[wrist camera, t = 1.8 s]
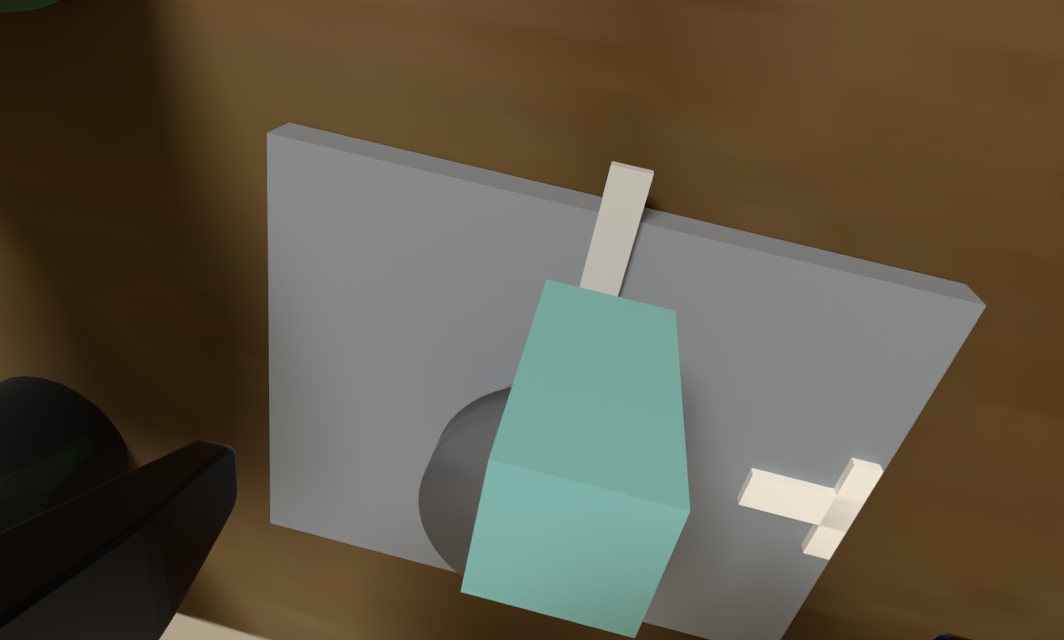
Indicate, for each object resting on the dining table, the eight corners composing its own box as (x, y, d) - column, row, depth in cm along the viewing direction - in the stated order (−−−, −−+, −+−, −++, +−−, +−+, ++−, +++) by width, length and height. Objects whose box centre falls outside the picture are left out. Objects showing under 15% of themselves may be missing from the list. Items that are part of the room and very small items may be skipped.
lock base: (992, 237, 16) (1058, 291, 14) (765, 625, 24) (779, 707, 21) (290, 71, 17) (225, 92, 14) (286, 499, 25) (243, 563, 22)
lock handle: (763, 276, 14) (862, 555, 8) (633, 591, 19) (625, 920, 13) (473, 207, 14) (323, 417, 8) (422, 535, 20) (306, 829, 13)
